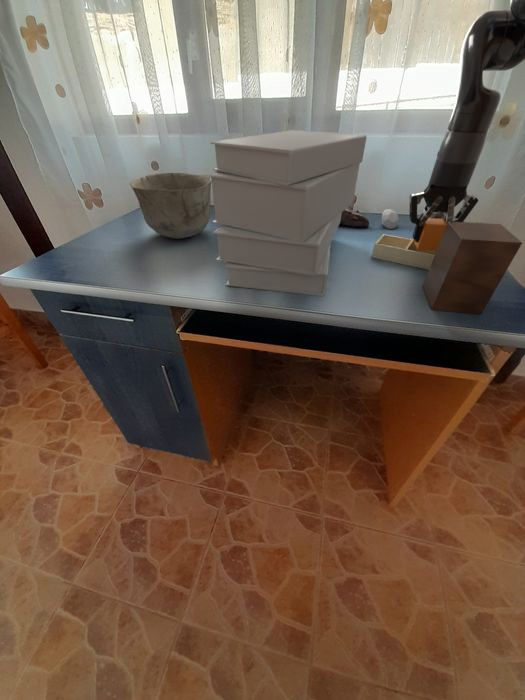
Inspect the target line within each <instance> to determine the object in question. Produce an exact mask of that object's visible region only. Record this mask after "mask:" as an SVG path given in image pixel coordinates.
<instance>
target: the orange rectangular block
mask: <svg viewBox="0 0 525 700" xmlns="http://www.w3.org/2000/svg"><path fill="white" fill-rule="evenodd" d="M446 225H447V224H446V223H445V221H444V220H443V219H436V218H431V217H429V218H428V219H427V221H426V222H425V224H424V225H423V227H424V228H423V230H422V233H421V236H420V239H419V242H414V243H415V245H416V248H417V250H429V251H437V248H438V246H439V243H440V241H441V238H442V235H443V233H444V230H445V228H446Z"/></svg>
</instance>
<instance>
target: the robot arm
mask: <svg viewBox="0 0 525 700" xmlns="http://www.w3.org/2000/svg"><path fill="white" fill-rule="evenodd" d="M509 3H510V4H509V5H510V6H509V7H510V9H500V10H498V9H497V10H496V9H495V10H488V11H486V12H484V13H482V14H481V15H479V16H478V17H477V18H476V20H475V21H474V22H473V23H472V25H471V26H470V27H469V28H468V31H467V33H466V35H465V38H464V40H463V43H462V46H461V51H460V58H459V70H458V73H459V74H458V82H457V91H456V97H455V104H454V107H453V110H452V113H451V117H450V120H449V123H448V126H447V129H446V131H445V135H444V137H443V139H442V141H441V143H440V146H439V150H438V151H437V154H436V158H435V162H434V165H433V168H432V171H431V175H430V178H429V181H428V185H427V186H426V188H425V189H424V190H423V192H418V193H415V192H411V193H410V194H409V220H410V222H411V223H412V224H415V227H414V229H413V233H412V239H413V240H414V241H415V242H419V239H420V236H421V233H422V230H423V228H424V227H423V225H424V224H425V222H426V221H427V219H428V218H431V215H432V213H433V212H439V211H440V212H443V213H444V221H445V223H446V224H447V223H448V221H449V222H465V220H466V219H467V217H468V216H469V215H470V214H471V211H473V209H474V208H475V206H476V205H477V204H478V202H479V199H478V198H477V197H476V196H475V195H474V194H471V195H470V194H468V191H467V190H468V186H469V185H470V181H471V179H472V177H473V174H474V172H475V170H476V167H477V165H478V162H479V159H480V156H481V155H482V151H483V150H484V146H485V144H486V139H487V137H488V133H489V130H490V128H491V125H492V122H493V120H494V118H495V115H496V112H497V110H498V107H499V106H500V101H501V93H500V92H499V91H498V90H495V89H492V88H489V87H486V86H485V84H484V77H483V76H484V72H491V71H492V72H500V71H501V72H503V71H509V70H511V69H513V68H516V67H518V66H519V65H520V64H522V63H523V62H524V61H525V0H510V2H509ZM422 199H424V202H425V205H424V207H423V208H422V210H421V213H420V215H419V216H418V205H420V203H421V202H422ZM461 202H462V206H461V207H460V209H459V210H458V212H457V213H456V215H455V208H456V207H457V206H458V205H459V204H460V203H461Z"/></svg>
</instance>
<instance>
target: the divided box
mask: <svg viewBox="0 0 525 700" xmlns="http://www.w3.org/2000/svg"><path fill="white" fill-rule="evenodd" d="M414 242H415V241H414V239H413V238H407V237H402V236H396V235H391V234H386V233H383V234H382V235H381V236H380V237H379V238H378V239H377V240H376V242H374V245H373V249H372V253H371V258H374V259H378V260H382V261H387V262H391V263H396V264H400V265H405V266H410V267H414V268H419V269H423V270H427V271H429V269H430V266H431V264H432V261H433V259H434V256H435V254H436V251H429V250H417V248H416V245H415V243H414Z"/></svg>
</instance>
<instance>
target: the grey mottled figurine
mask: <svg viewBox="0 0 525 700" xmlns="http://www.w3.org/2000/svg"><path fill="white" fill-rule="evenodd" d="M430 218H436V219H443V220H444V213H443V212H440V211H439V212H433V213H432V215H431V216H430Z"/></svg>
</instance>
